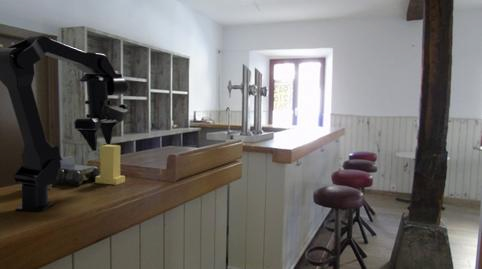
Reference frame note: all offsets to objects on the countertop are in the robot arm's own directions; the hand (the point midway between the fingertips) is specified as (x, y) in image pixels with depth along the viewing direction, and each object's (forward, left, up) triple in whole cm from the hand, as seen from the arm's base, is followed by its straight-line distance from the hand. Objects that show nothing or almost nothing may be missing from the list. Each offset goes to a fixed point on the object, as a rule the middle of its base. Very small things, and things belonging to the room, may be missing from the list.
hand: (101, 147), depth 108 cm
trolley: (+9, +11, -13) cm, 19 cm away
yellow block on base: (+10, 0, -13) cm, 16 cm away
